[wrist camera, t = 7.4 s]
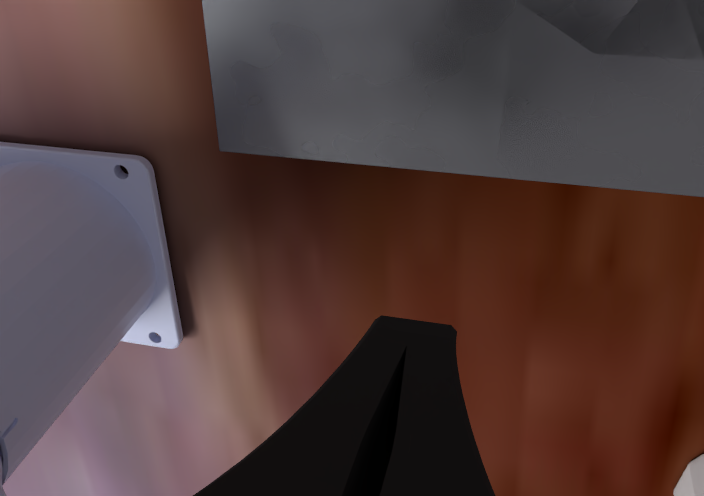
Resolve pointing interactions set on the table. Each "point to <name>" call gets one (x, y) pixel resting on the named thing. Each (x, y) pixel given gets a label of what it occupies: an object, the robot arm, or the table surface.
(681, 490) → the white cup
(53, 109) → the table surface
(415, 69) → the hole plate
